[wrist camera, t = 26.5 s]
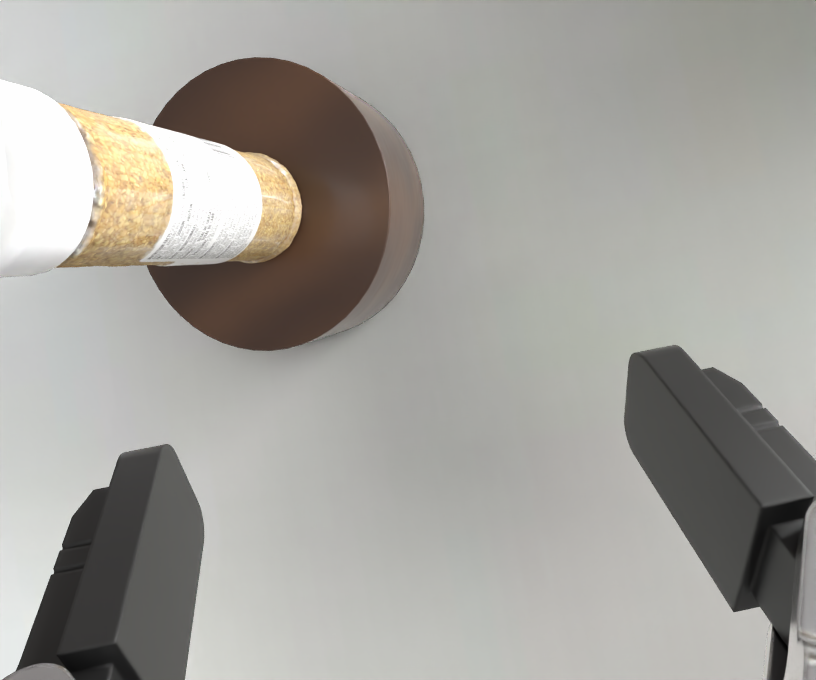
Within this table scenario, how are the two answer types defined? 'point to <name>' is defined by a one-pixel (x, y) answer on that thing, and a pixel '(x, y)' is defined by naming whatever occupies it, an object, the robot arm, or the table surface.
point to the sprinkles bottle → (130, 193)
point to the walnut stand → (321, 206)
